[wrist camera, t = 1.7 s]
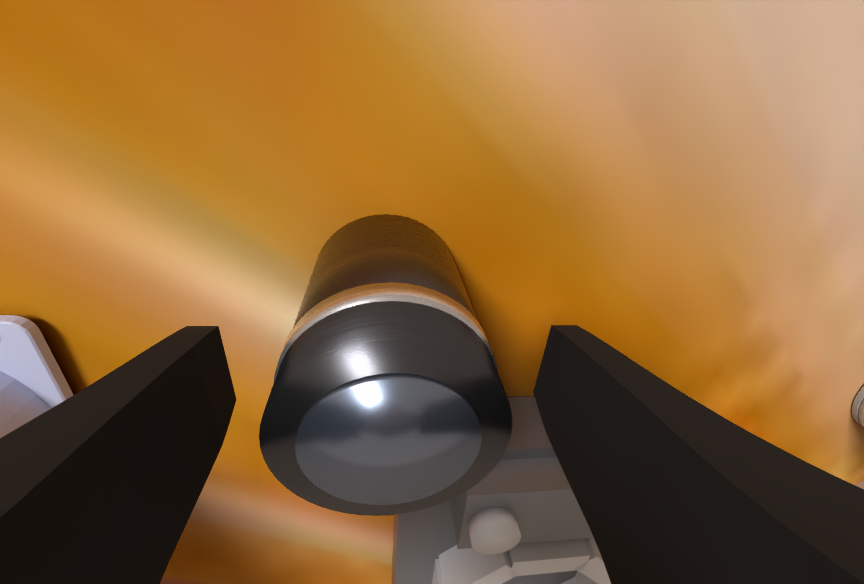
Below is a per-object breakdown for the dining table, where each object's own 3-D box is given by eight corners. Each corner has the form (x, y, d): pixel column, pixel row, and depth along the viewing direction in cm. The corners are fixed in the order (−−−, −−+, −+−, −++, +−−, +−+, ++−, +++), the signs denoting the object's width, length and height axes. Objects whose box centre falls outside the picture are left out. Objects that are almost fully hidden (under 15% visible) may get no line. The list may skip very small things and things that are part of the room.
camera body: (390, 603, 22) (392, 706, 19) (398, 400, 14) (403, 510, 11) (569, 584, 24) (603, 677, 20) (664, 392, 16) (748, 486, 12)
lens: (318, 341, 13) (273, 532, 7) (305, 210, 11) (229, 348, 5) (451, 340, 13) (496, 515, 8) (465, 215, 11) (541, 343, 6)
